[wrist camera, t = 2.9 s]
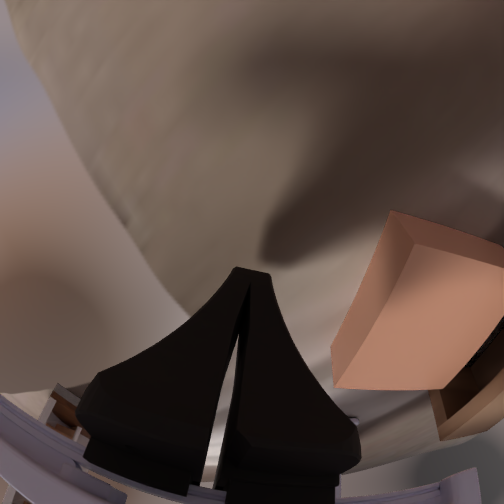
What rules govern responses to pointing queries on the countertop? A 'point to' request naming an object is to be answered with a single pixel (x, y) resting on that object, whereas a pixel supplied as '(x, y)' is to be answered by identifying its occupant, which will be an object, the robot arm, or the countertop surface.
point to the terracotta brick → (419, 308)
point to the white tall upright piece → (56, 429)
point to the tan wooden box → (472, 396)
